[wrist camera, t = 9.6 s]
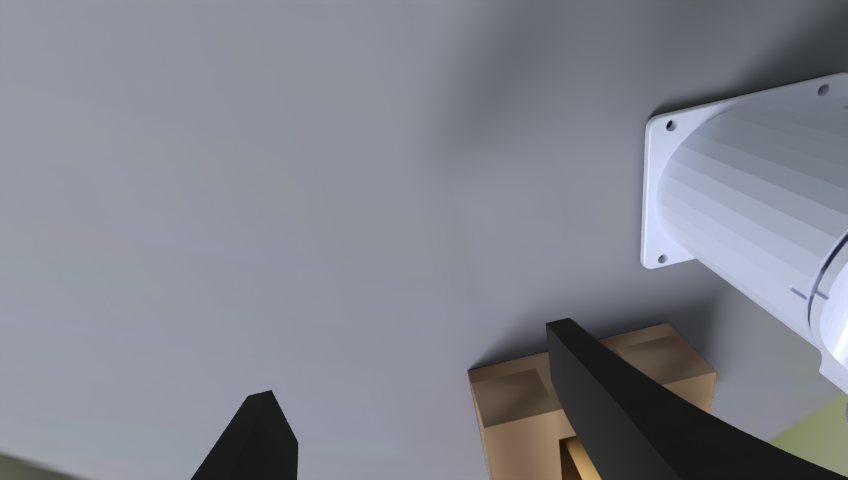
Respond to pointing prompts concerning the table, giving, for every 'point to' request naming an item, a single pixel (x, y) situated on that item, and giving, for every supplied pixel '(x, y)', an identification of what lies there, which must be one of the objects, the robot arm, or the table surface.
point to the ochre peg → (581, 459)
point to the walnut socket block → (543, 414)
